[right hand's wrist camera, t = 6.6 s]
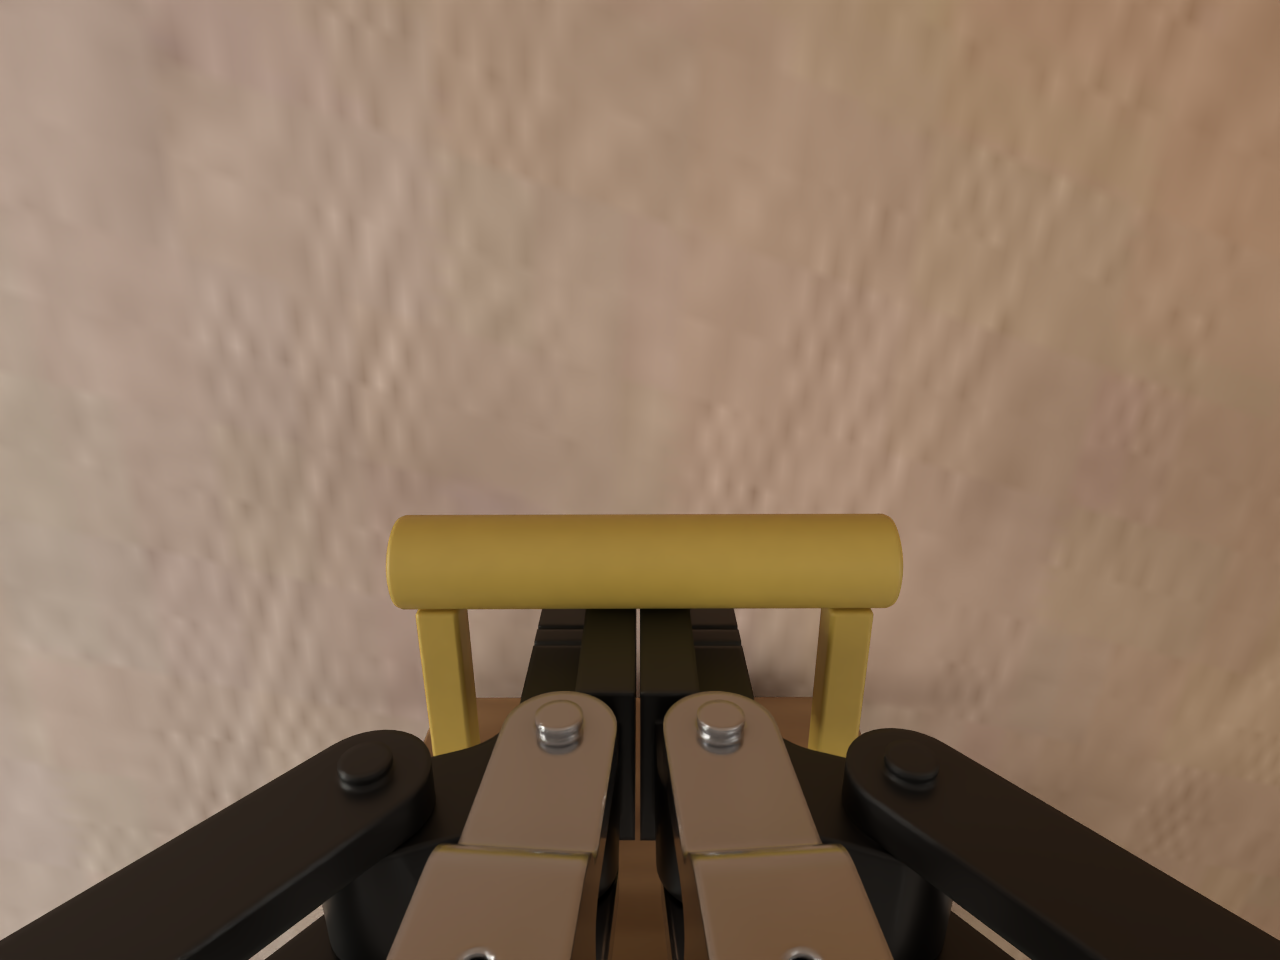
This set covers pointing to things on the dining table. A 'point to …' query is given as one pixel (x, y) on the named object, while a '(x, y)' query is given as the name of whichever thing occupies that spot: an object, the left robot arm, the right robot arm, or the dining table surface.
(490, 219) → the dining table surface
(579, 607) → the drawer
